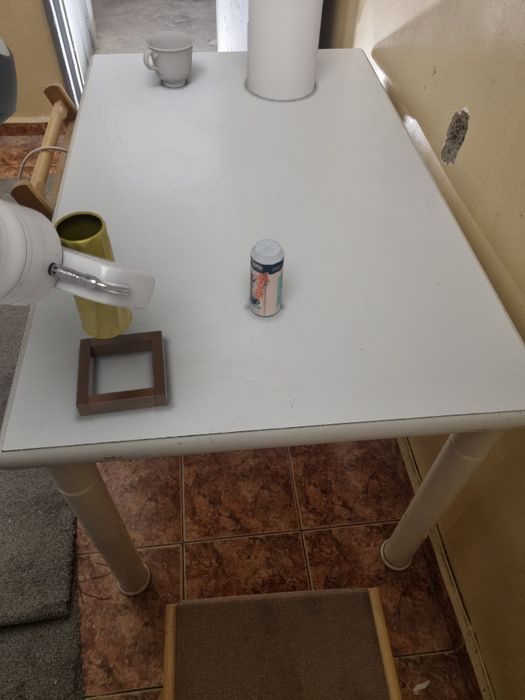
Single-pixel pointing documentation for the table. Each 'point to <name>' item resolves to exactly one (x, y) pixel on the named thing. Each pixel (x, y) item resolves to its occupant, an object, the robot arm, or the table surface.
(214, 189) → the table surface
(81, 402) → the brown wooden square frame
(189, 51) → the teacup
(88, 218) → the vase
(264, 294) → the beer can
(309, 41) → the cylinder
